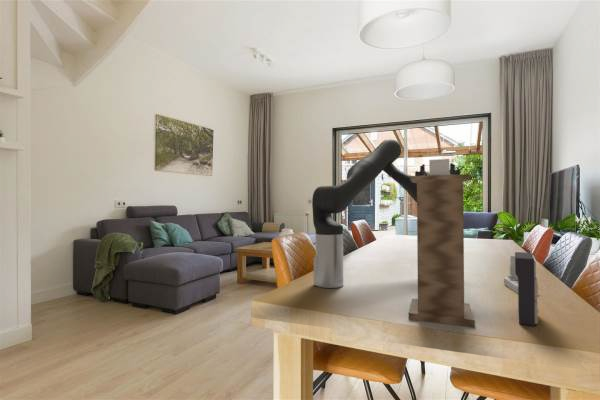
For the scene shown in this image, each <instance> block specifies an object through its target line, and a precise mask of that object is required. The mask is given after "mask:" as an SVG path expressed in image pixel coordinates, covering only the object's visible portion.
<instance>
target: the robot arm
mask: <svg viewBox="0 0 600 400" xmlns="http://www.w3.org/2000/svg"><path fill="white" fill-rule="evenodd" d="M401 154H402V147H401V144H400V143H399V142H398V141H397V140H396V139H392V138H387V139H384V140H383V141H381V143H380V144H378V146H377V147H375V148H374V149H373V150H372V152H370V153H368V154H367V155H366V156H364V157H363V158H361V159H360V160H358V161H357V162H355V163H354V164H353V165H351V166H350V167H349V169H348V170H347V173H346V179H345V180H344V181H342V183H339V184H336V185H323V186H317V188H315V189H314V191H313V194H312V199H311V206H312V223H313V226H314V231H315V256H314V257H313V286H314V285H315V286H314V287H316V286H317V287H319V288H324V289H325V288H326V289H336V288H342V287H343V286H344V227H343V225H342V224H341V223H339V222H337V221H335V219H334V218H333V214H340V213H342V212H344V211H345V210H346V209H347V208H349V206H350V205H351V203H352V202H353V201H354V200H355V198H356V197H357V196H358V195H359V194H360V193H361V192H362V191H363V190H364V189H365V188H366V187H368V186H369V185H370V184H371V183H372V182H373V181H374V180H375V179H376V178H377V177H378V176H379V175H380V174H381V173H382V172H384V173H385V174H387V175H388V176H389V177H390V178H391V179H393V181H395V182H396V183H398V184H399V185H400V187H402V188H403V189H404V191H406V193H408V195H409V196H410V197H411V199H413V200H414V202H415V203H416V204H417V183H413V182H412V181H411V180H410V176H412V175H411V174H408V173H406V172H404V171H401V170H400V169H399V168H397V167H396V166H395V165H394V162H395V161H396V160H397V159H398V158H399V157H401ZM425 167H426V166H425V163H423V164H422V165H420V167H419V168H420V169H419V171H417V170H416V171H415V172H414V176H429V171H426V168H425ZM449 168H450V175H461V170H460V169H456V164H454V163H453V162H449Z"/></svg>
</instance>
